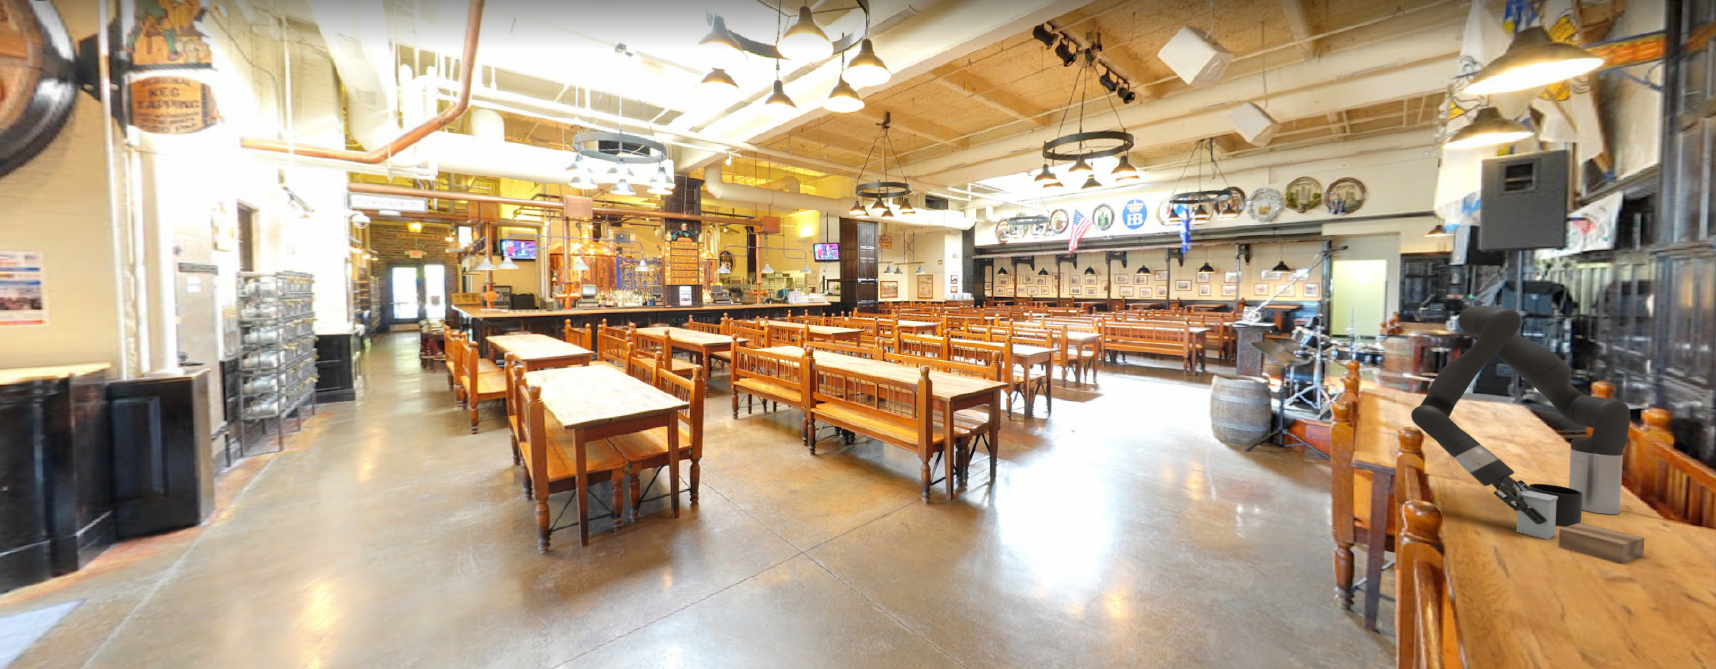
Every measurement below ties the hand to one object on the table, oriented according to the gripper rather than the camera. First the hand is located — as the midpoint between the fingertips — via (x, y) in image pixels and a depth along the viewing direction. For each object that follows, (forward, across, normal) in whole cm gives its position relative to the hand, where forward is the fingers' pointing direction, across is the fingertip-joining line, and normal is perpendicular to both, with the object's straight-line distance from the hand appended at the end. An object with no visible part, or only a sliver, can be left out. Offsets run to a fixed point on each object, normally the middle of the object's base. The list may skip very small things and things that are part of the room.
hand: (1546, 520), depth 147 cm
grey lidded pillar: (+2, 0, +4) cm, 5 cm away
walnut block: (+10, -2, -3) cm, 10 cm away
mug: (+1, +18, +5) cm, 19 cm away
